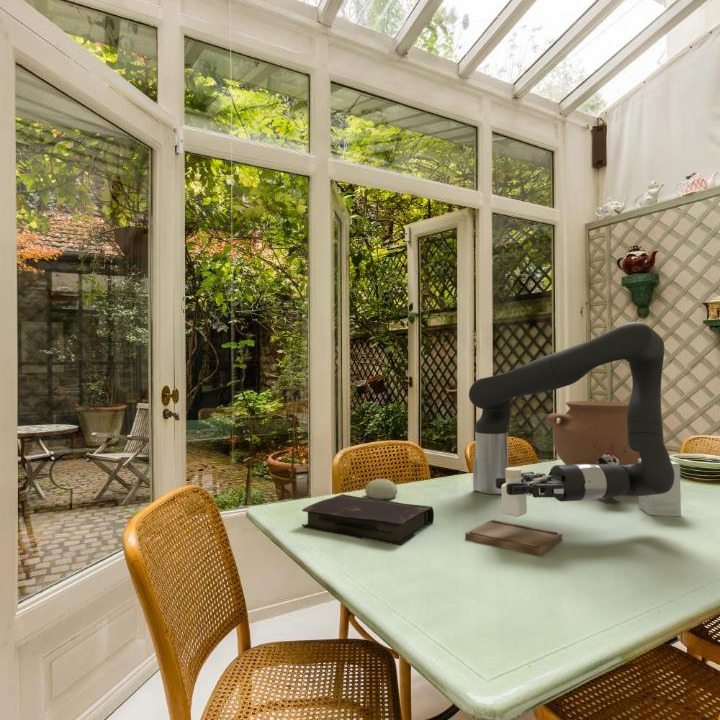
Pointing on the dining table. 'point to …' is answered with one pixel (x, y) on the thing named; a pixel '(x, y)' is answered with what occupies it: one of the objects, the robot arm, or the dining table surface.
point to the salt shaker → (513, 503)
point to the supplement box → (664, 498)
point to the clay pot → (592, 432)
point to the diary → (368, 518)
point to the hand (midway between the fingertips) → (501, 486)
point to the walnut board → (515, 537)
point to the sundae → (609, 459)
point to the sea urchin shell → (381, 489)
